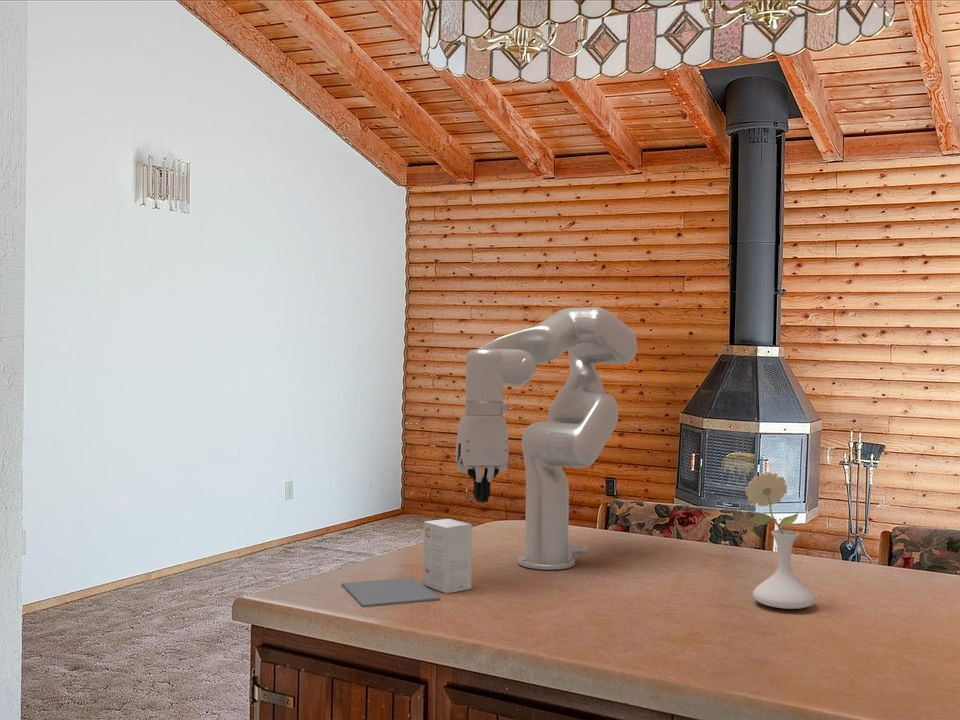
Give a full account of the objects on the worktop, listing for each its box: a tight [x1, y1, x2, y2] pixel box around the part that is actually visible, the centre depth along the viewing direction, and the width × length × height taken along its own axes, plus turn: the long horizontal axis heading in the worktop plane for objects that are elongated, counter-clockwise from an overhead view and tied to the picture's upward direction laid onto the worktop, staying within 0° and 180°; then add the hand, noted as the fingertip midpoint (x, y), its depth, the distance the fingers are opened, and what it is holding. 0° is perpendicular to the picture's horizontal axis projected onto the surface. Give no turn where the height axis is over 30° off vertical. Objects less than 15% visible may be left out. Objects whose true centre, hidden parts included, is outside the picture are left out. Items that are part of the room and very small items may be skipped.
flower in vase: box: [744, 471, 817, 610], centre depth 178 cm, size 13×11×25 cm
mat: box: [341, 576, 441, 608], centre depth 185 cm, size 15×17×1 cm
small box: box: [423, 518, 473, 594], centre depth 189 cm, size 8×6×13 cm
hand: (481, 501), depth 191 cm, fingers closed
